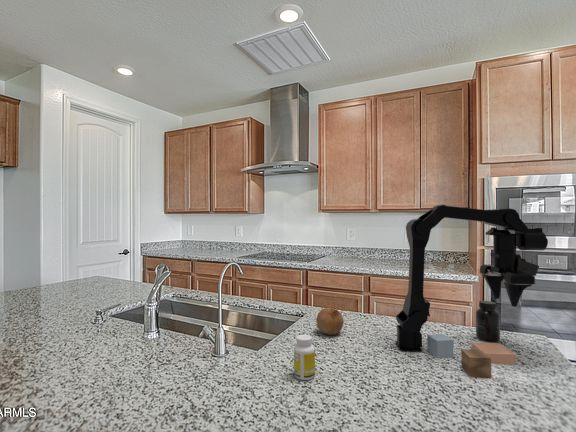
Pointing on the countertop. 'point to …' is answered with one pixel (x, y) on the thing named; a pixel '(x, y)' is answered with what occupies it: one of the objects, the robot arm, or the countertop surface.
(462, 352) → the walnut cube
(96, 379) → the countertop surface
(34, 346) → the countertop surface
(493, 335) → the supplement bottle
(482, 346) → the base block
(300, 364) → the supplement bottle
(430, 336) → the slate-blue cube
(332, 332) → the onion
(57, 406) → the countertop surface
